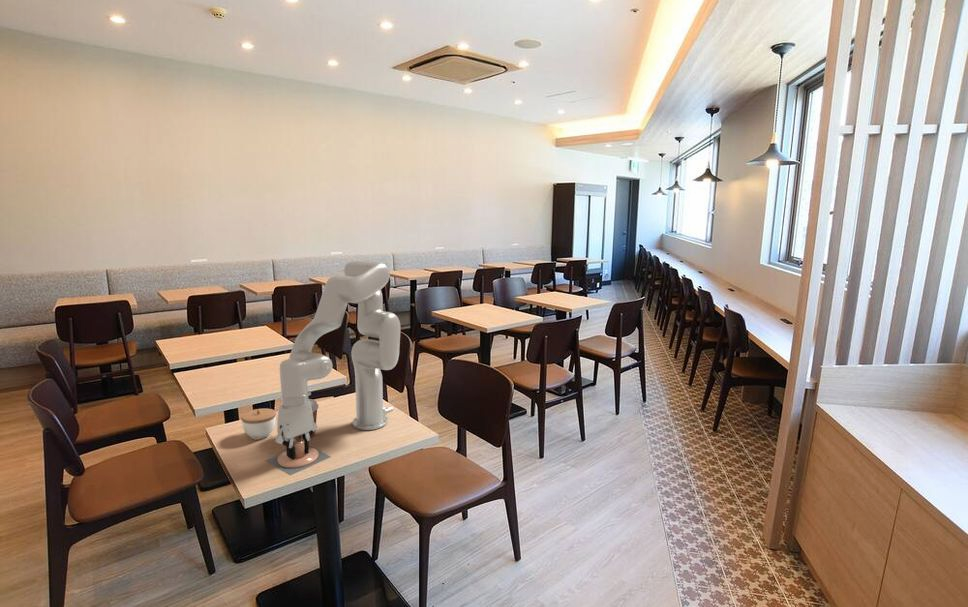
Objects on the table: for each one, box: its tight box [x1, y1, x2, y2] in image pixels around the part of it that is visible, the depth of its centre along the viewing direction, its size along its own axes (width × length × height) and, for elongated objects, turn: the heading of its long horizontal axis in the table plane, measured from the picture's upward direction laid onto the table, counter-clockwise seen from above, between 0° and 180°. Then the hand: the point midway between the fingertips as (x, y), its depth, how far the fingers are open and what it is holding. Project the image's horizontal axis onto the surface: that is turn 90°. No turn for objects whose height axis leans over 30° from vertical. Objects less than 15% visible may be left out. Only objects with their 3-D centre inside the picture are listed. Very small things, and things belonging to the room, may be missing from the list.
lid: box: [277, 437, 319, 468], centre depth 152 cm, size 12×12×6 cm
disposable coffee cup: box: [295, 398, 319, 439], centre depth 168 cm, size 10×10×12 cm
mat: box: [264, 445, 331, 476], centre depth 152 cm, size 14×14×1 cm
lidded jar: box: [241, 407, 277, 440], centre depth 168 cm, size 11×11×9 cm
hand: (298, 454), depth 152 cm, fingers closed on lid, 4 cm apart
